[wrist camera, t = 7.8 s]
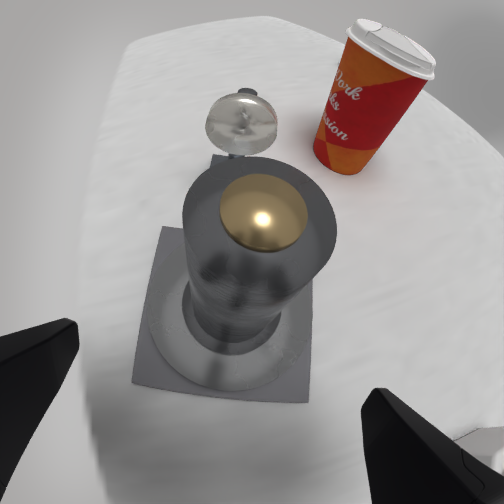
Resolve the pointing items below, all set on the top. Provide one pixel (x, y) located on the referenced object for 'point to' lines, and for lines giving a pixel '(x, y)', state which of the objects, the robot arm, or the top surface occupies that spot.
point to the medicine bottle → (486, 446)
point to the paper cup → (369, 94)
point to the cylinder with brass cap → (250, 249)
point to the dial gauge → (241, 125)
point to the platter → (212, 364)
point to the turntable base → (166, 377)
